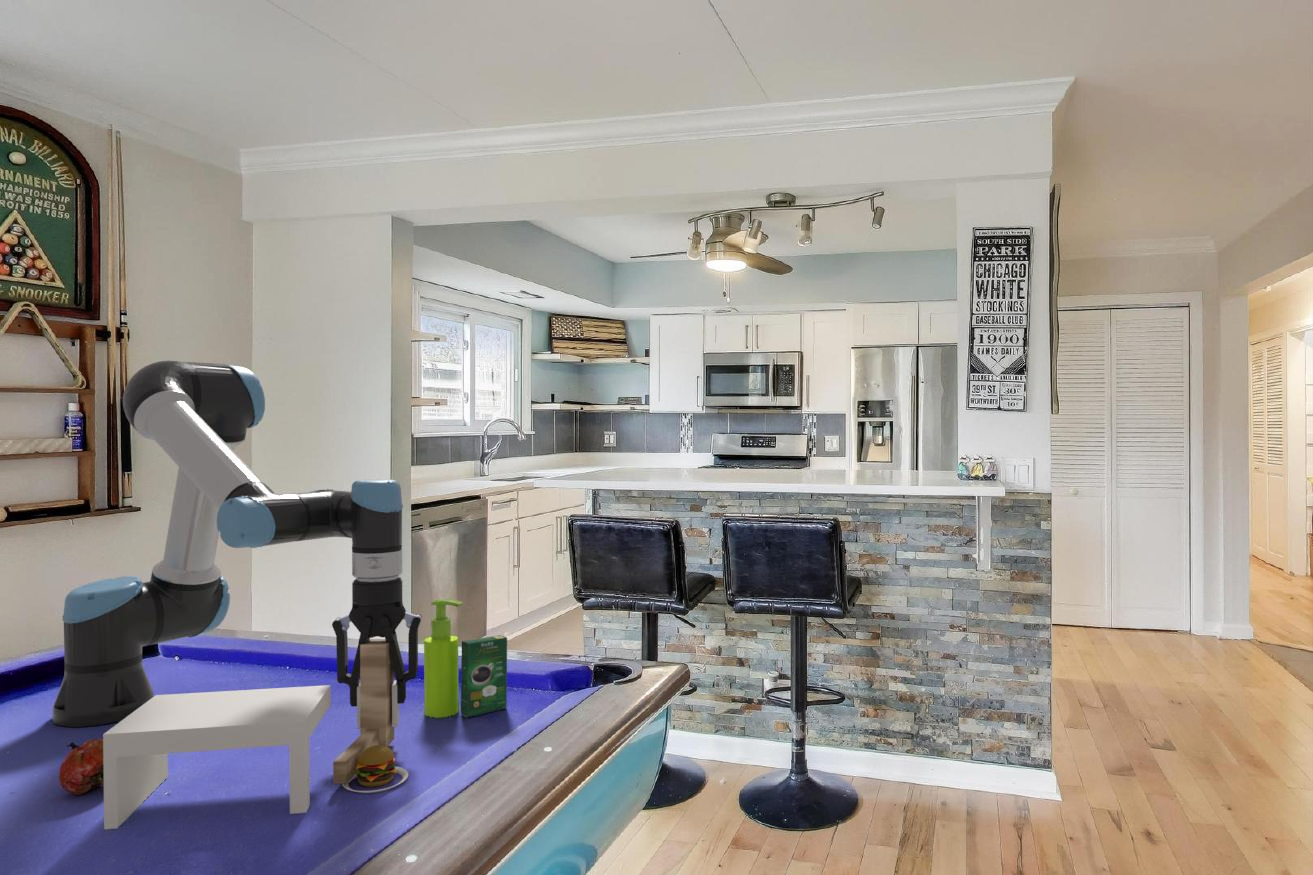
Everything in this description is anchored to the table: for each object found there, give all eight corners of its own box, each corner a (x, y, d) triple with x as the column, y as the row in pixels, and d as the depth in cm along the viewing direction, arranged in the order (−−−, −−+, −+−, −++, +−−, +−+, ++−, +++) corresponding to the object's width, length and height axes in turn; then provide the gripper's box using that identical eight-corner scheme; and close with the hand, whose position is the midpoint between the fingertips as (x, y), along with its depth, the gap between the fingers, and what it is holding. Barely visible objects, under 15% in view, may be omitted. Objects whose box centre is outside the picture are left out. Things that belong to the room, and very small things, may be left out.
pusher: (369, 739, 133) (369, 638, 133) (394, 738, 133) (394, 638, 133) (325, 783, 116) (325, 667, 116) (354, 783, 116) (354, 667, 116)
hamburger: (337, 811, 111) (337, 770, 111) (325, 779, 121) (324, 741, 121) (428, 792, 116) (428, 752, 116) (409, 763, 127) (408, 727, 127)
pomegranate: (132, 797, 119) (99, 746, 123) (144, 765, 116) (109, 714, 120) (75, 824, 113) (41, 769, 116) (86, 790, 110) (51, 735, 113)
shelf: (156, 777, 120) (155, 695, 120) (331, 764, 125) (330, 684, 125) (104, 829, 105) (103, 734, 105) (306, 812, 109) (305, 721, 109)
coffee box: (500, 704, 152) (500, 633, 152) (508, 708, 150) (508, 636, 150) (460, 714, 147) (459, 640, 147) (467, 718, 145) (466, 643, 145)
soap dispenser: (455, 719, 145) (454, 604, 144) (418, 716, 146) (417, 602, 146) (469, 708, 150) (468, 597, 150) (434, 705, 152) (433, 596, 152)
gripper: (313, 583, 126) (314, 737, 127) (432, 579, 130) (433, 729, 130) (323, 575, 134) (325, 720, 134) (436, 571, 137) (437, 713, 137)
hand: (378, 724), depth 132 cm, fingers closed on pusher, 4 cm apart
